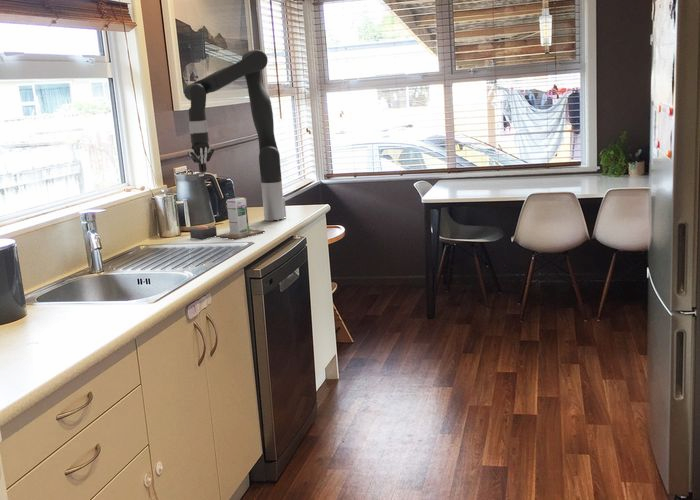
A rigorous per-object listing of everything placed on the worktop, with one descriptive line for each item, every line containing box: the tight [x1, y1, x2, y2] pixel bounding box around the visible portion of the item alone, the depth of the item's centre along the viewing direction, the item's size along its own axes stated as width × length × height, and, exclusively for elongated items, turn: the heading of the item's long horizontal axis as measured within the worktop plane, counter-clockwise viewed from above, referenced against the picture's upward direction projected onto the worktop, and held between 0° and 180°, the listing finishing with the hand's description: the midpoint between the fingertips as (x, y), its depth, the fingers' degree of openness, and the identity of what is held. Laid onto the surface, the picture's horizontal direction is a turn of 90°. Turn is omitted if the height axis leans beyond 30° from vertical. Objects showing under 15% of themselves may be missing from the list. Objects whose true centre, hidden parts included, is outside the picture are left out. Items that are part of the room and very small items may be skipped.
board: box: [215, 228, 266, 241], centre depth 317 cm, size 16×12×1 cm
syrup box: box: [226, 197, 250, 235], centre depth 315 cm, size 6×6×14 cm
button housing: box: [189, 225, 218, 241], centre depth 317 cm, size 8×8×4 cm
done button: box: [197, 225, 209, 229], centre depth 316 cm, size 4×4×3 cm
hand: (203, 172), depth 330 cm, fingers closed
